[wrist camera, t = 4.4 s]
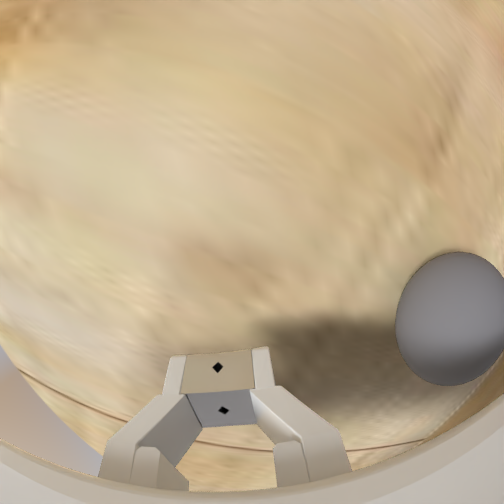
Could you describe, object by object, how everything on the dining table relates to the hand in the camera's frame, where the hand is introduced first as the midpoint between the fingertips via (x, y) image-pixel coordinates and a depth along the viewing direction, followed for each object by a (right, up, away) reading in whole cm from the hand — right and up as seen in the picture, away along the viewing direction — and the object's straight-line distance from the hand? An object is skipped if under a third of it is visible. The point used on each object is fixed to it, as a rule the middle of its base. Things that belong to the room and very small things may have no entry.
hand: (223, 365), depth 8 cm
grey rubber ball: (+9, +1, 0) cm, 9 cm away
